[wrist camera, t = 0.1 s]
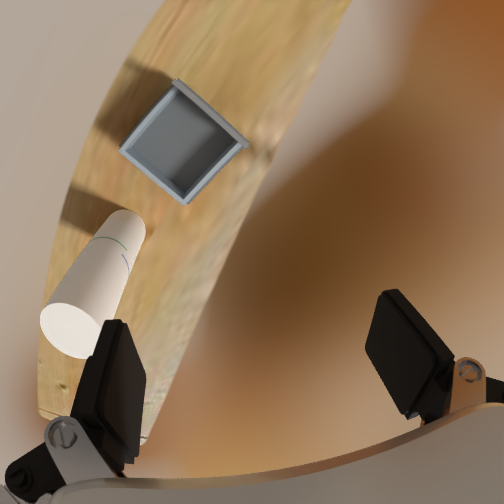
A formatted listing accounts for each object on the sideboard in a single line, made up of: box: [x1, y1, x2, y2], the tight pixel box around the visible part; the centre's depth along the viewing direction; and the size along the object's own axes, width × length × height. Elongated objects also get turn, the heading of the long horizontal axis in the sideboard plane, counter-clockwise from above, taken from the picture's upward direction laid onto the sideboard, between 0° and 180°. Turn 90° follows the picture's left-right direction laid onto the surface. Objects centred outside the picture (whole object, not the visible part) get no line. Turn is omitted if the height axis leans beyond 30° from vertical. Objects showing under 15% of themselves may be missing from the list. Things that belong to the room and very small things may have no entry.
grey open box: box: [118, 78, 250, 206], centre depth 35 cm, size 12×13×12 cm
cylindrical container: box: [40, 209, 146, 359], centre depth 35 cm, size 7×7×25 cm
